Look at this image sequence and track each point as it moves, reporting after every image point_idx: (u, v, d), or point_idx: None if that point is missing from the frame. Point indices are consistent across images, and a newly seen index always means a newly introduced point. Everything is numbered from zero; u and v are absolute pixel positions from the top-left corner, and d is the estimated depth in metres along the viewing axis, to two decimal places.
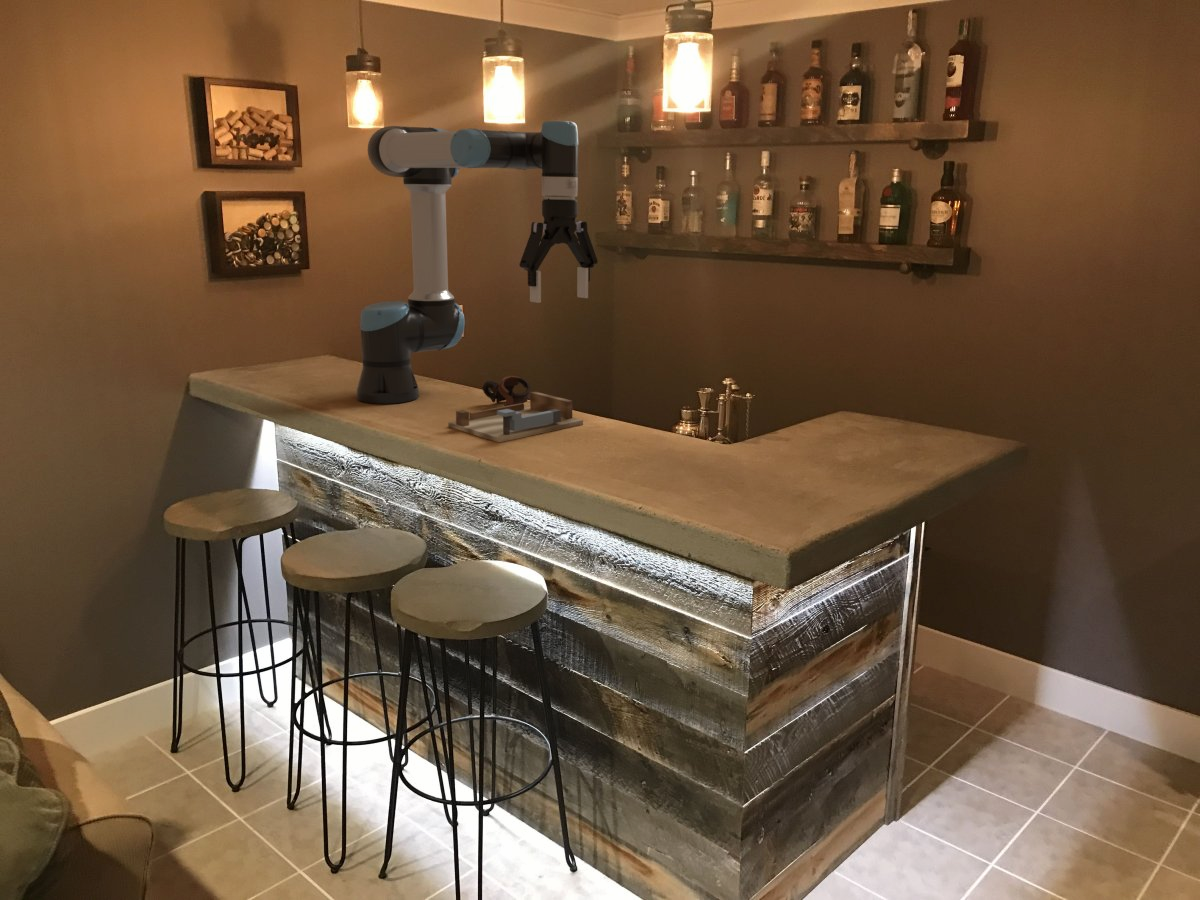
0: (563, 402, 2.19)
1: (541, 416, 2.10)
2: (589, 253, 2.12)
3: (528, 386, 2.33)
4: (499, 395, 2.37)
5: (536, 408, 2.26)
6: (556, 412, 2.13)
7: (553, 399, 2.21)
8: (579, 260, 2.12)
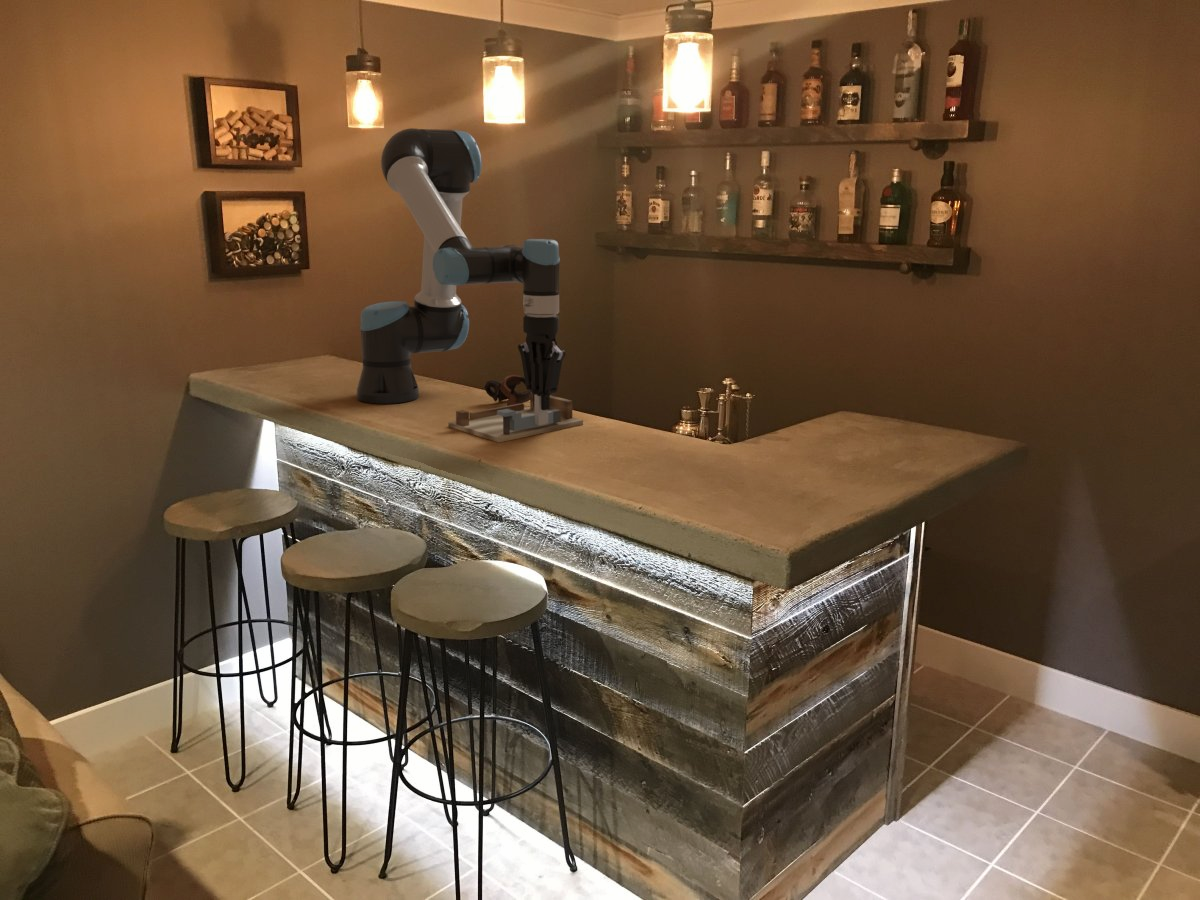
0: (563, 402, 2.19)
1: None
2: None
3: None
4: (501, 394, 2.38)
5: None
6: (556, 412, 2.13)
7: (553, 399, 2.21)
8: None
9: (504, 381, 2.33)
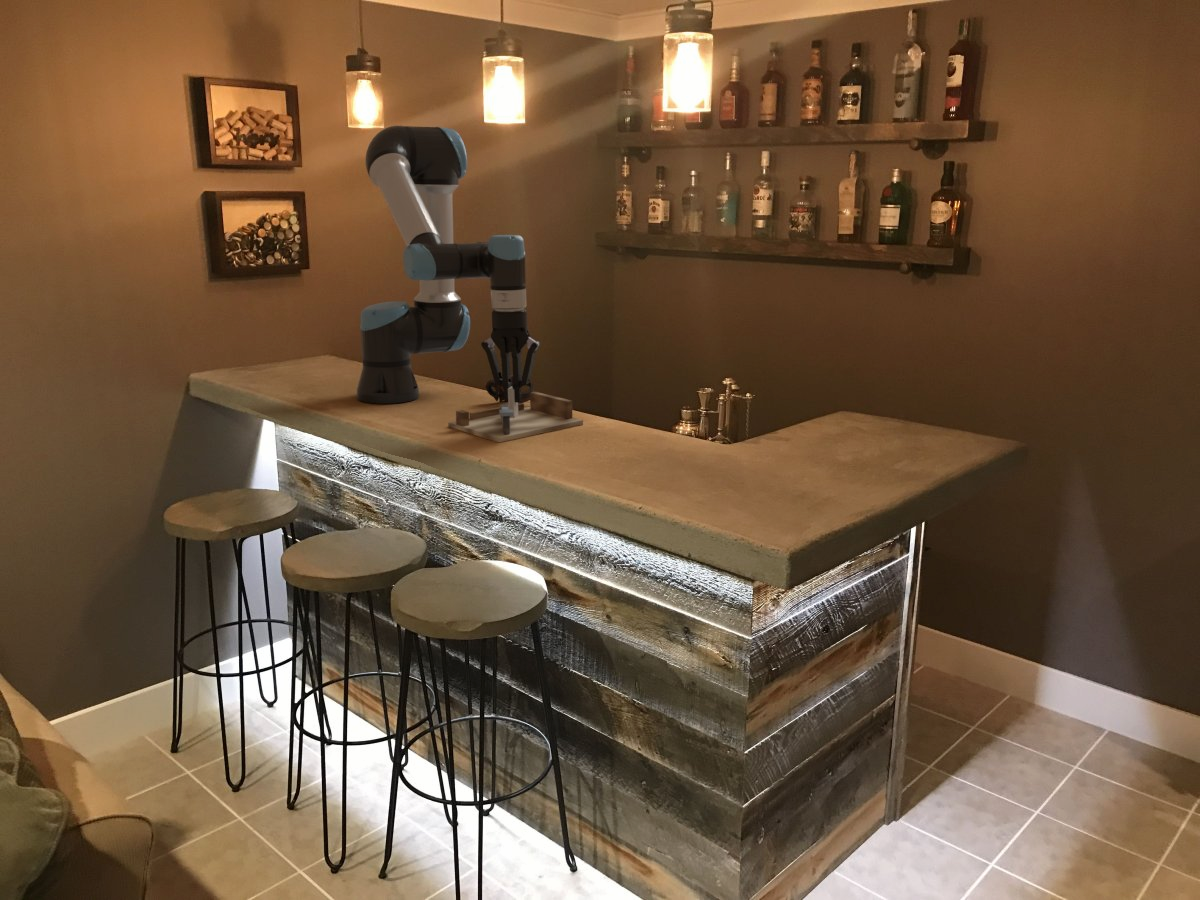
0: (563, 402, 2.19)
1: None
2: None
3: (531, 385, 2.35)
4: (502, 394, 2.39)
5: (536, 408, 2.26)
6: (508, 407, 2.17)
7: (553, 399, 2.21)
8: None
9: None
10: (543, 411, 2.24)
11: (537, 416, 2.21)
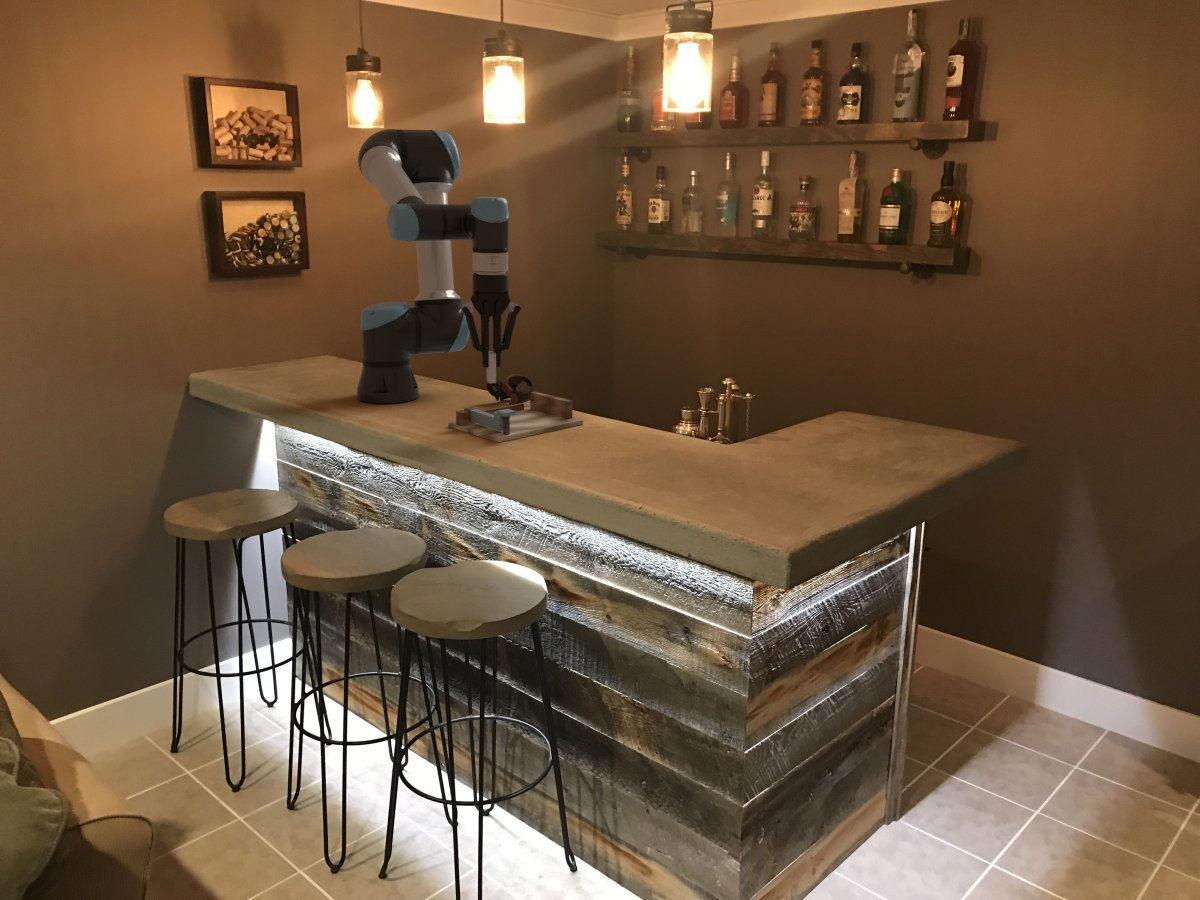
0: (563, 402, 2.19)
1: None
2: (505, 335, 2.08)
3: (532, 384, 2.35)
4: (503, 393, 2.39)
5: (536, 408, 2.26)
6: None
7: (553, 399, 2.21)
8: (493, 341, 2.09)
9: (506, 380, 2.33)
10: (543, 411, 2.24)
11: (537, 416, 2.21)
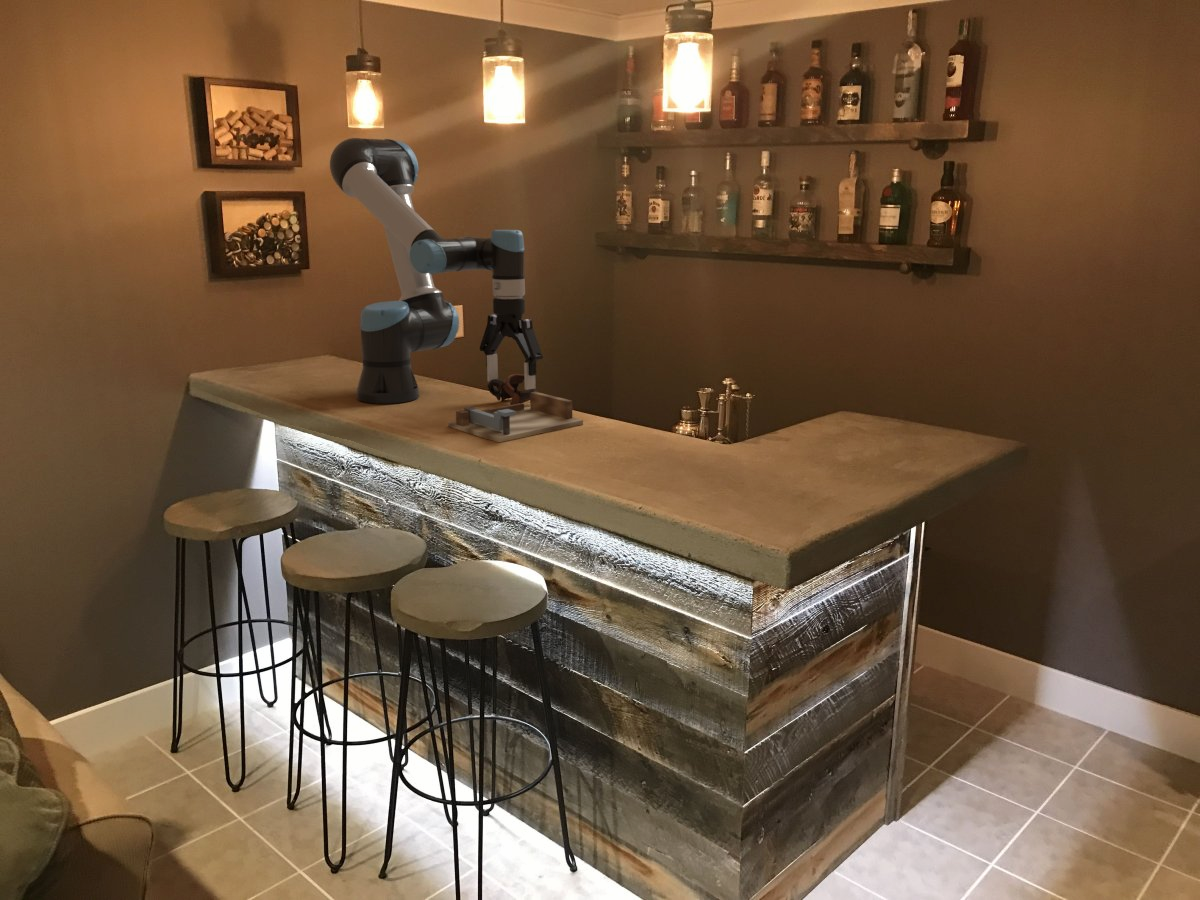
0: (563, 402, 2.19)
1: None
2: None
3: None
4: (504, 393, 2.40)
5: (536, 408, 2.26)
6: None
7: (553, 399, 2.21)
8: None
9: (507, 380, 2.34)
10: (543, 411, 2.24)
11: (537, 416, 2.21)
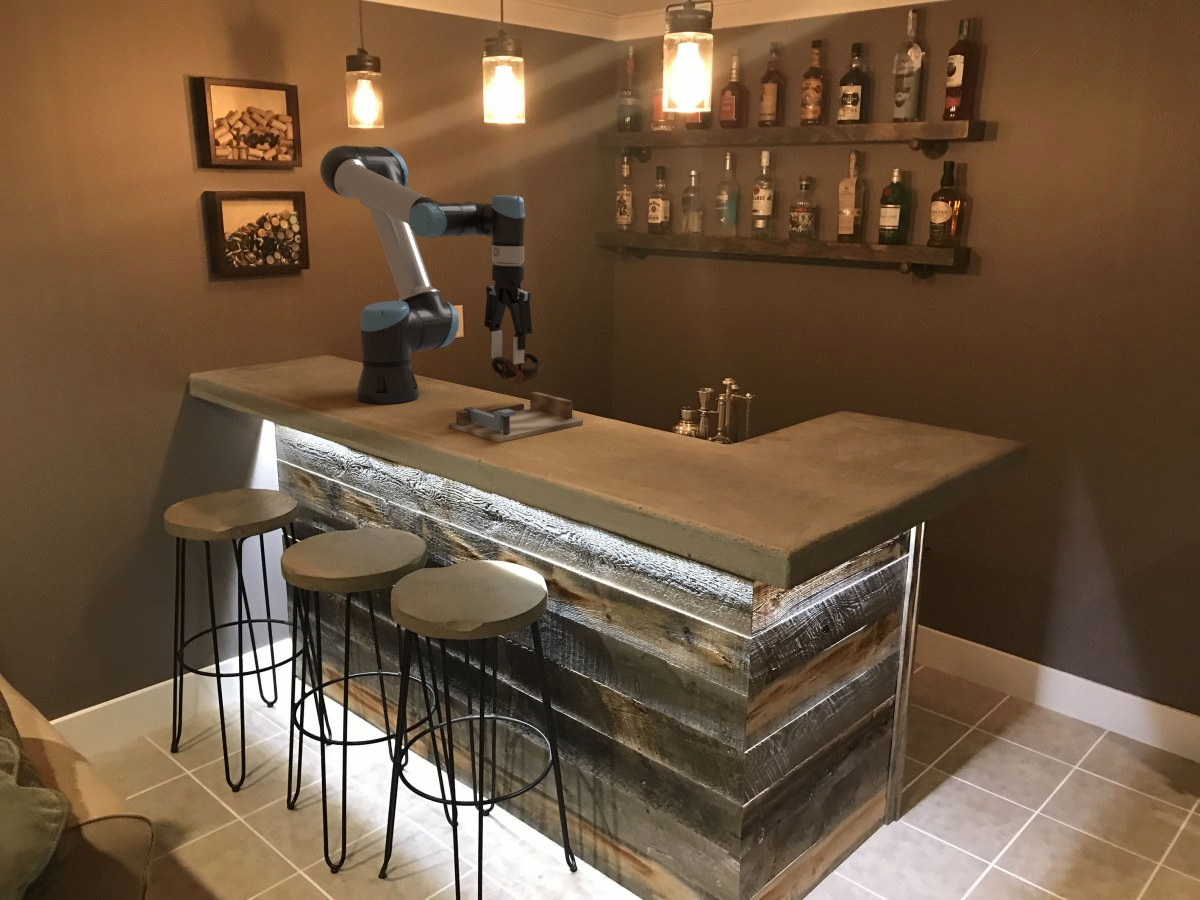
0: (563, 402, 2.19)
1: None
2: None
3: (538, 361, 2.33)
4: (508, 371, 2.37)
5: (536, 408, 2.26)
6: None
7: (553, 399, 2.21)
8: None
9: (511, 357, 2.31)
10: (543, 411, 2.24)
11: (537, 416, 2.21)
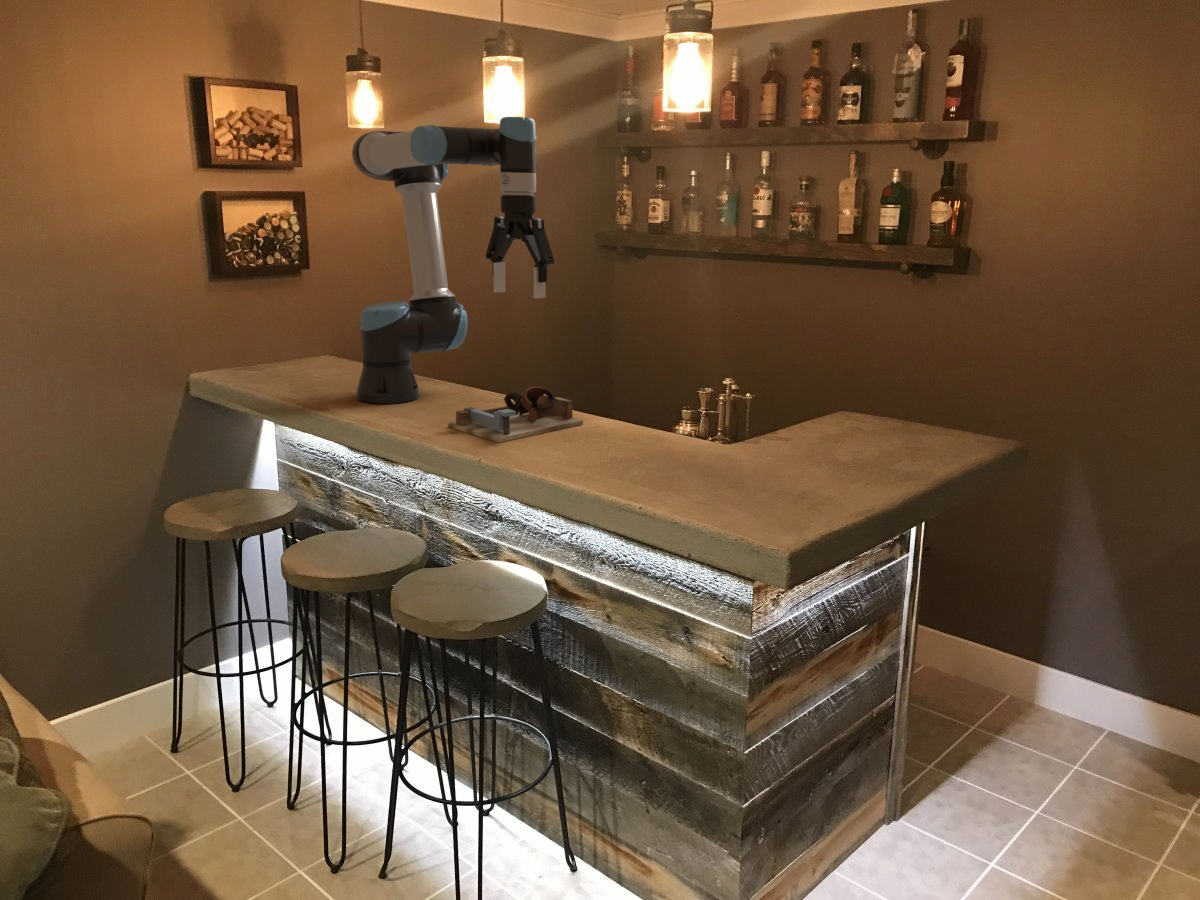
0: (563, 402, 2.19)
1: None
2: None
3: (553, 398, 2.16)
4: (522, 407, 2.20)
5: None
6: None
7: None
8: None
9: (525, 393, 2.14)
10: None
11: None
